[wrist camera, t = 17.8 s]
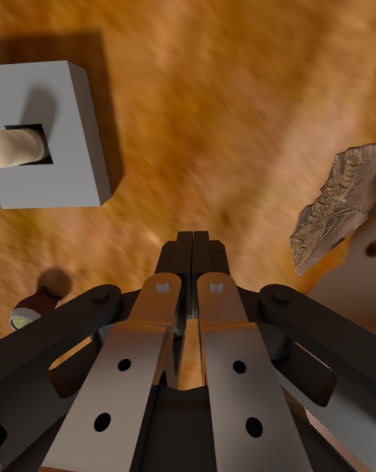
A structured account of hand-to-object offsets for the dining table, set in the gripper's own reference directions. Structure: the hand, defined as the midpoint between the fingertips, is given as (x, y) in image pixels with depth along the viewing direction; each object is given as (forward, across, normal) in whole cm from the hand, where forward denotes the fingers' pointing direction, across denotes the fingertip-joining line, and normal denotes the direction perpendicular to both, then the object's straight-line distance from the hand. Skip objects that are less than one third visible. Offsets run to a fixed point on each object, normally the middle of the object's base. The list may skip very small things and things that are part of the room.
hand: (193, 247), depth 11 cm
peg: (+27, +23, -4) cm, 36 cm away
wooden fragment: (+28, -23, +10) cm, 37 cm away
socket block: (+27, +23, -4) cm, 36 cm away
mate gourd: (+27, +34, +28) cm, 52 cm away
